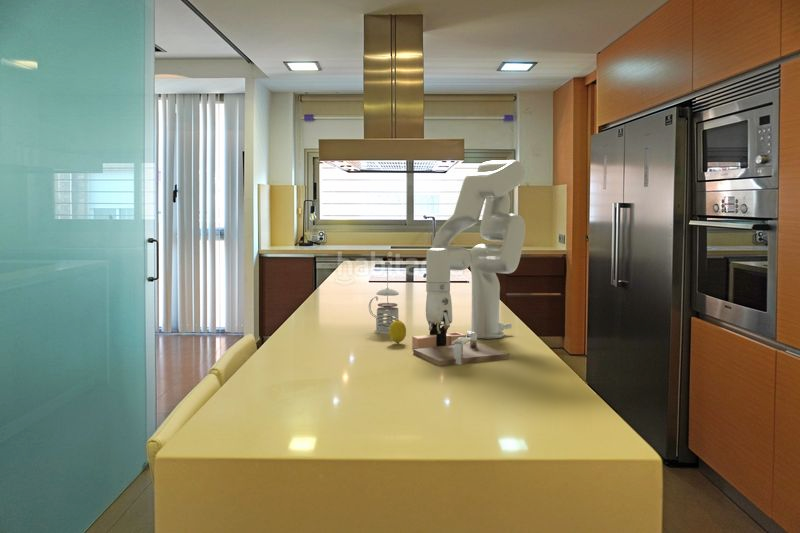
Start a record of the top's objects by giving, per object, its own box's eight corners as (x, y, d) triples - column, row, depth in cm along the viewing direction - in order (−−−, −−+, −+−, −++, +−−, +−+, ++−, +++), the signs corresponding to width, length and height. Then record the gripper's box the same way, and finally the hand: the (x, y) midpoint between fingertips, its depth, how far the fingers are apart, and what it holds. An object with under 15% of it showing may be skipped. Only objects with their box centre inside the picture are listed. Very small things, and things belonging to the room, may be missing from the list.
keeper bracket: (459, 358, 202) (459, 336, 201) (470, 359, 201) (471, 337, 200) (451, 364, 194) (451, 342, 194) (463, 365, 193) (463, 342, 193)
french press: (398, 334, 239) (398, 262, 236) (365, 333, 241) (365, 262, 239) (403, 329, 248) (403, 260, 246) (372, 328, 251) (372, 260, 248)
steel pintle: (474, 346, 211) (474, 331, 211) (477, 347, 209) (478, 333, 209) (468, 346, 210) (469, 332, 210) (472, 348, 209) (472, 333, 208)
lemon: (404, 345, 219) (404, 321, 219) (387, 345, 220) (387, 320, 220) (407, 342, 225) (407, 318, 224) (391, 341, 226) (391, 317, 225)
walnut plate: (479, 347, 217) (479, 342, 217) (509, 358, 201) (509, 353, 201) (413, 354, 207) (413, 349, 207) (439, 366, 192) (439, 360, 192)
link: (457, 342, 224) (457, 332, 224) (465, 345, 220) (465, 334, 219) (411, 346, 218) (411, 336, 217) (418, 350, 213) (418, 339, 212)
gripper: (461, 289, 211) (461, 348, 212) (436, 284, 226) (436, 338, 228) (439, 290, 208) (439, 350, 209) (415, 285, 223) (415, 340, 224)
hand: (437, 343), depth 218 cm, fingers closed on link, 4 cm apart
